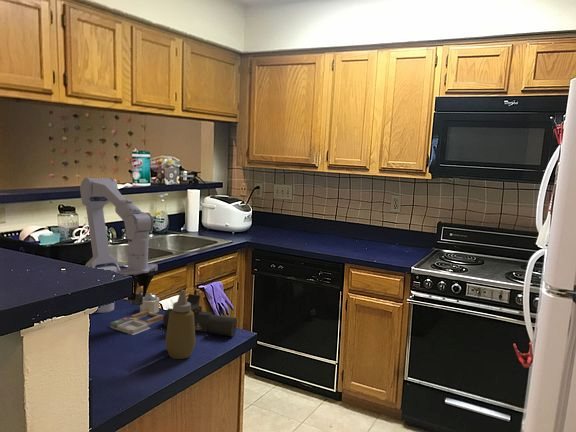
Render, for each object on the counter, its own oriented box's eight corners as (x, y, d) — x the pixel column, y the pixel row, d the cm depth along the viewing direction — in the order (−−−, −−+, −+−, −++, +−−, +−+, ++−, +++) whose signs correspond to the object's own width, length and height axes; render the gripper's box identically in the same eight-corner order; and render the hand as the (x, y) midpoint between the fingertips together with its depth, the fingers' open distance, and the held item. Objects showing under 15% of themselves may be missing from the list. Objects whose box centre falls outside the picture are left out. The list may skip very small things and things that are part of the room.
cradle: (108, 330, 141) (109, 322, 141) (127, 323, 148) (127, 316, 147) (133, 338, 137) (133, 330, 136) (150, 331, 143) (151, 323, 143)
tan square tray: (129, 323, 148) (129, 316, 148) (147, 316, 155) (148, 309, 155) (146, 328, 144) (146, 321, 144) (164, 321, 151) (165, 314, 151)
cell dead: (141, 311, 157) (142, 293, 156) (149, 308, 160) (150, 291, 159) (149, 313, 155) (150, 295, 155) (157, 310, 159) (158, 293, 158)
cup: (136, 313, 157) (136, 299, 156) (149, 309, 162) (149, 295, 161) (149, 317, 154) (149, 302, 153) (162, 313, 159) (163, 298, 158)
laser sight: (228, 342, 139) (230, 310, 138) (157, 332, 143) (158, 300, 142) (238, 331, 148) (240, 300, 147) (170, 321, 152) (172, 291, 151)
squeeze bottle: (198, 359, 126) (202, 293, 124) (168, 363, 123) (171, 296, 120) (190, 347, 133) (193, 285, 131) (161, 351, 130) (163, 287, 127)
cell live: (127, 303, 142) (128, 284, 141) (136, 300, 145) (137, 281, 144) (136, 306, 140) (136, 286, 139) (145, 303, 143) (146, 284, 142)
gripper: (128, 259, 132) (127, 306, 134) (165, 252, 145) (163, 295, 147) (111, 255, 136) (110, 301, 137) (148, 248, 148) (147, 290, 150)
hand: (136, 297), depth 142 cm, fingers closed on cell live, 4 cm apart
